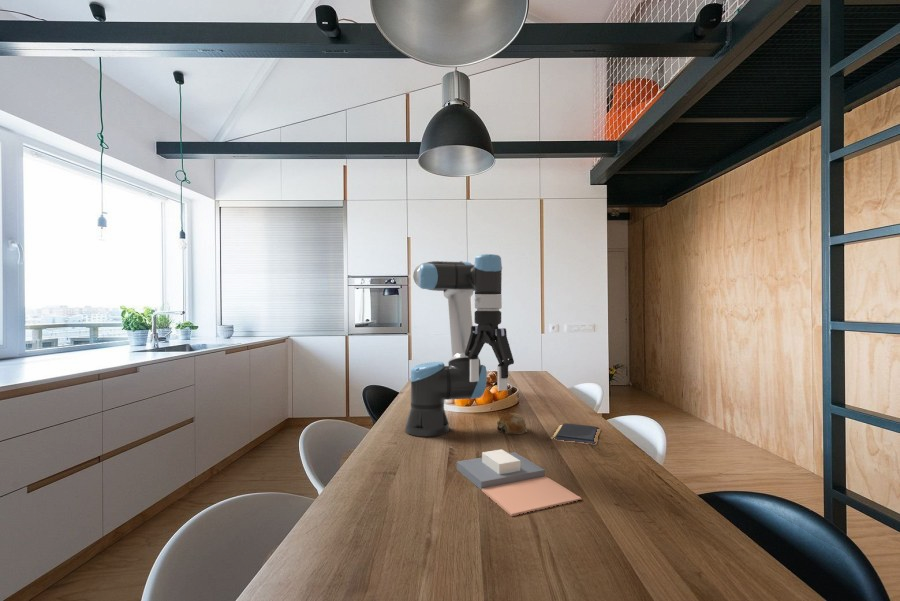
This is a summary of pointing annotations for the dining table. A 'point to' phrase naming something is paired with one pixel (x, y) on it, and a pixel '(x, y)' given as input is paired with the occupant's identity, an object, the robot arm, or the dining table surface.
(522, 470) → the grey slab
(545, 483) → the mat
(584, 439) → the dark grey book
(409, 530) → the dining table surface
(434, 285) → the robot arm
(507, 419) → the bread roll
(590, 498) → the dining table surface
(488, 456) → the tile
